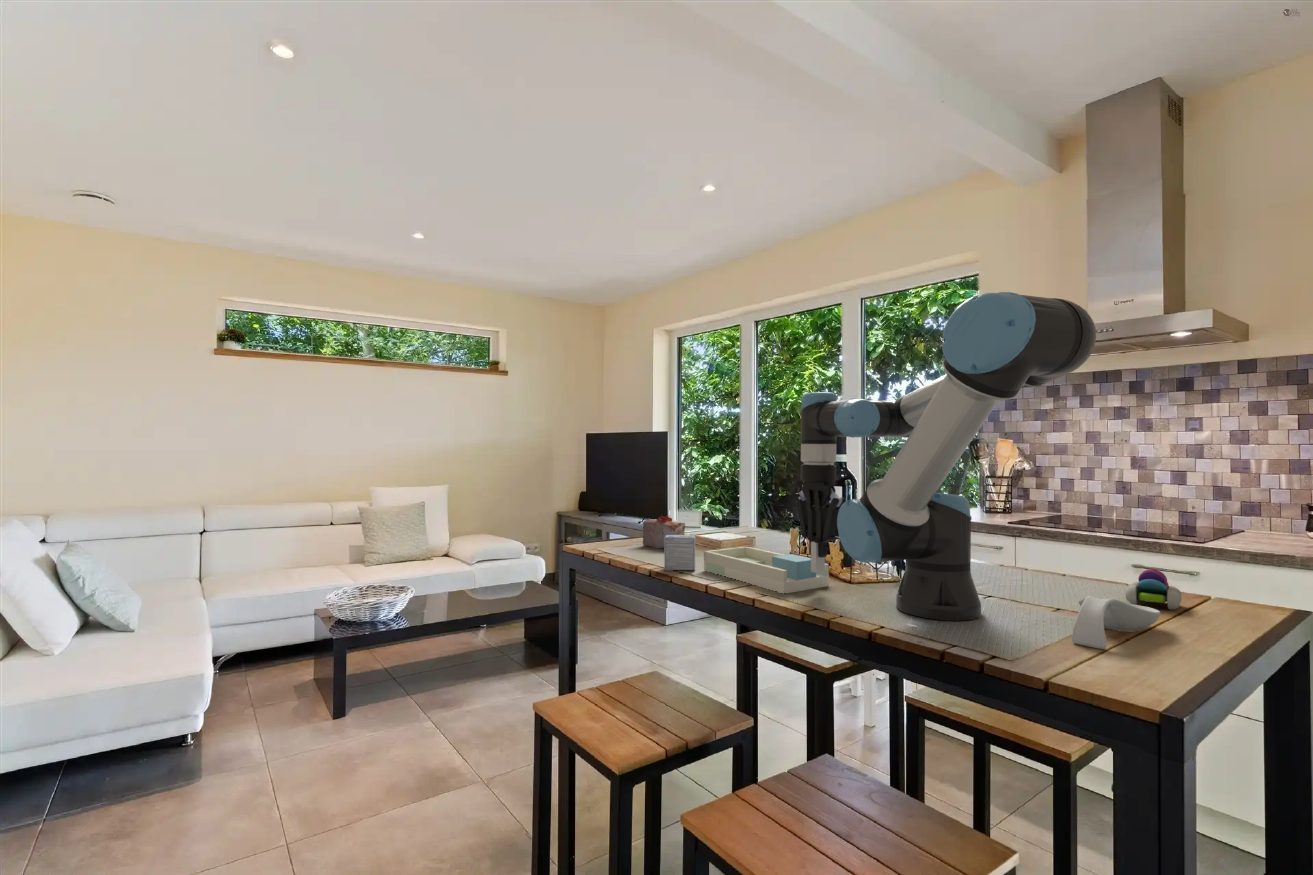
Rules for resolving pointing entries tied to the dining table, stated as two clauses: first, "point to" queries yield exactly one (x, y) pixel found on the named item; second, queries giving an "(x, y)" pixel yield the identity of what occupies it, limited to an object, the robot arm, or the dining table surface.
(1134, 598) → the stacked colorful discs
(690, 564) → the grey upright rectangular block
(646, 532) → the gift box with bow
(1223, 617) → the dining table surface
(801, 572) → the block
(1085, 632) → the spoon rest
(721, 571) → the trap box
